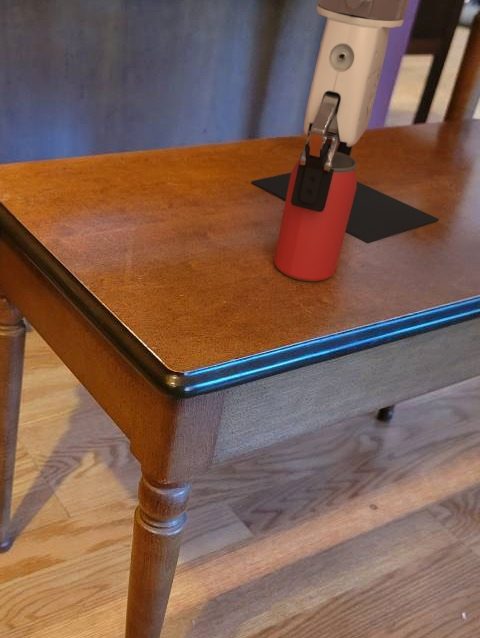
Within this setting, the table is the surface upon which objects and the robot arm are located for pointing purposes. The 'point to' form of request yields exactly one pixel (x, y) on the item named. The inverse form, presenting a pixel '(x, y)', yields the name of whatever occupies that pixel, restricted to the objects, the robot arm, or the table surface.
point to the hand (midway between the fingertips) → (318, 191)
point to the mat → (365, 210)
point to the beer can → (316, 227)
